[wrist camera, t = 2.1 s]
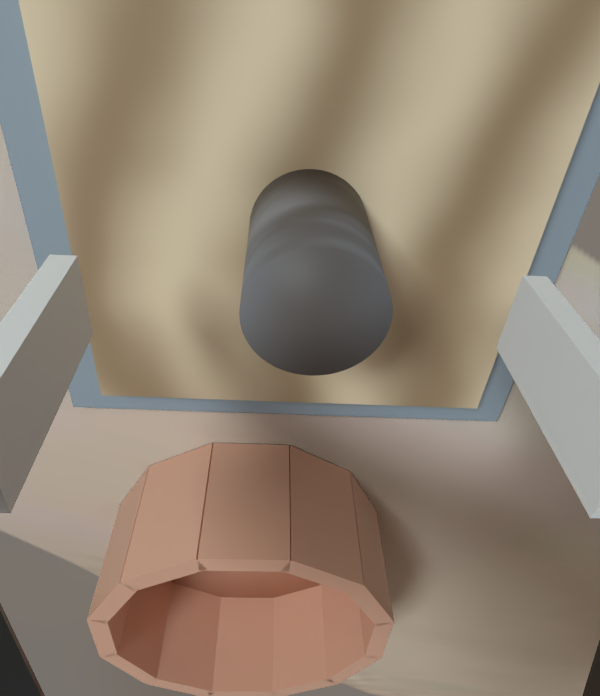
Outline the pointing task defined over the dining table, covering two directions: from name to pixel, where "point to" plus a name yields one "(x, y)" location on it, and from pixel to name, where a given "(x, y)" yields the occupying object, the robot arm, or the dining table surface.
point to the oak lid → (308, 185)
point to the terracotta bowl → (243, 575)
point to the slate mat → (51, 238)
